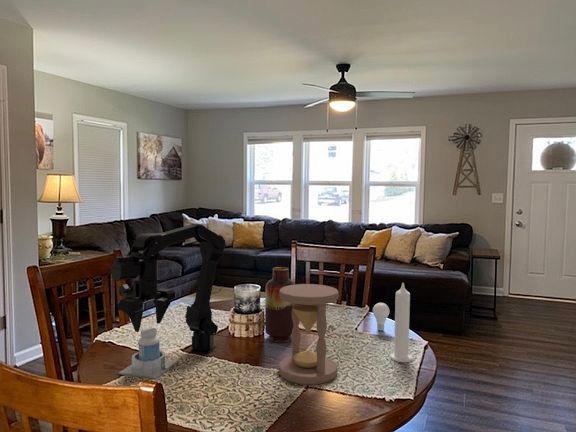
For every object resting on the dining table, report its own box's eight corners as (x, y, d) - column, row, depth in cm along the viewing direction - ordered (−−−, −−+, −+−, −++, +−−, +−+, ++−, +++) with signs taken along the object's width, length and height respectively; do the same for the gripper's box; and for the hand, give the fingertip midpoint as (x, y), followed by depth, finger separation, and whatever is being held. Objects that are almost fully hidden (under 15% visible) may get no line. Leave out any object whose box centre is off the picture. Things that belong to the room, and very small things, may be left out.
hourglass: (271, 364, 139) (271, 285, 137) (321, 357, 145) (322, 282, 143) (291, 388, 122) (292, 299, 121) (347, 379, 129) (349, 294, 127)
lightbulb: (371, 332, 171) (372, 304, 171) (373, 327, 177) (373, 300, 177) (388, 334, 169) (389, 305, 169) (389, 329, 175) (390, 301, 175)
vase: (268, 345, 156) (269, 271, 154) (262, 335, 167) (262, 266, 165) (299, 342, 159) (299, 270, 157) (290, 332, 170) (291, 265, 168)
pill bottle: (163, 363, 138) (163, 327, 137) (153, 371, 132) (153, 334, 131) (145, 361, 139) (144, 326, 138) (134, 369, 133) (134, 332, 132)
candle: (413, 363, 141) (415, 285, 140) (390, 361, 142) (392, 284, 141) (411, 355, 148) (413, 281, 146) (389, 353, 149) (391, 279, 148)
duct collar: (176, 363, 139) (176, 350, 139) (155, 379, 128) (155, 365, 128) (142, 359, 142) (142, 346, 142) (119, 374, 131) (119, 360, 131)
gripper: (148, 269, 145) (149, 316, 146) (103, 279, 128) (103, 332, 129) (176, 272, 140) (176, 320, 141) (132, 282, 124) (133, 338, 124)
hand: (148, 327), depth 134 cm, fingers open, 9 cm apart
